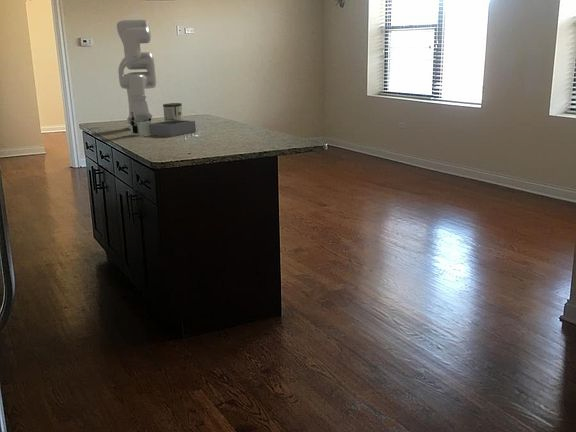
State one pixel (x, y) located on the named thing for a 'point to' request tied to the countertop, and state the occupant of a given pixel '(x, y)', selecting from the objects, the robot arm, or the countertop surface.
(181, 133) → the charcoal crate
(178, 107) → the coffee can
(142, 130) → the sage crate
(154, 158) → the countertop surface
